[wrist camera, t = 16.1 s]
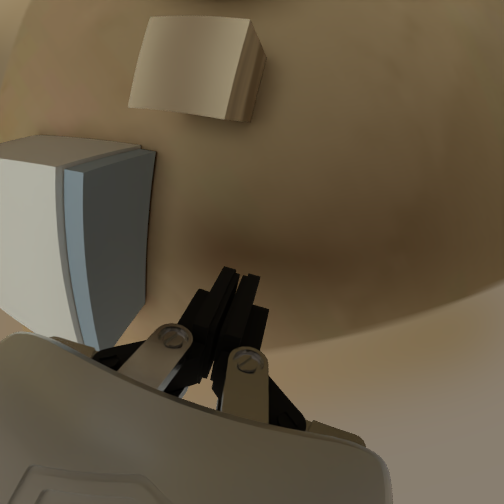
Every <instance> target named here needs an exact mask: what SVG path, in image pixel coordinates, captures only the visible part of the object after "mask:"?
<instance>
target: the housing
mask: <svg viewBox="0 0 504 504" xmlns="http://www.w3.org/2000/svg"><path fill="white" fill-rule="evenodd" d="M137 149H141V145H136V144H129V143H122V142H114V141H106V140H97V139H87V138H77V137H64V136H49V135H34V136H29V137H25V138H20V139H16V140H12V141H8V142H4V143H0V308H1V309H2V310H4V311H5V312H6V313H8V314H9V315H10V316H11V317H13V318H14V319H16V320H17V321H18V322H20V323H21V324H23V325H24V326H26V327H27V328H28V329H30V330H31V331H33V332H34V333H36V334H40V335H43V336H46V337H53V336H56V337H60V338H64V339H67V340H70V341H73V342H77V343H80V344H83V345H85V344H84V340H83V336H82V332H81V328H80V323H79V319H78V314H77V309H76V304H75V299H74V294H73V288H72V282H71V275H70V268H69V260H68V251H67V241H66V228H65V208H64V169H67V168H70V167H73V166H76V165H80V164H83V163H86V162H90V161H93V160H97V159H101V158H104V157H108V156H112V155H116V154H120V153H124V152H128V151H132V150H137Z"/></svg>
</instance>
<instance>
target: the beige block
mask: <svg viewBox="0 0 504 504" xmlns="http://www.w3.org/2000/svg"><path fill="white" fill-rule="evenodd" d="M266 58H267V57H266V55H265V52H264V50H263V48H262V45H261V43H260V40H259V38H258V36H257V34H256V31H255V29H254V27H253V25H252V22H251V20H249V19H241V18H230V17H217V16H157V17H150V20H149V23H148V26H147V29H146V33H145V36H144V39H143V43H142V47H141V50H140V54H139V58H138V62H137V66H136V70H135V75H134V79H133V84H132V89H131V94H130V99H129V104H128V107H129V108H142V109H153V110H163V111H172V112H180V113H187V114H194V115H200V116H207V117H213V118H218V119H224V120H233V121H243V122H251V117H252V113H253V109H254V105H255V101H256V97H257V93H258V89H259V85H260V81H261V77H262V73H263V70H264V66H265V62H266Z"/></svg>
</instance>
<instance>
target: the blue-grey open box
mask: <svg viewBox="0 0 504 504" xmlns="http://www.w3.org/2000/svg"><path fill="white" fill-rule="evenodd" d="M155 154H156V152H155V151H149V150H143V149H137V150H132V151H128V152H124V153H120V154H116V155H112V156H108V157H104V158H101V159H97V160H93V161H90V162H86V163H83V164H80V165H76V166H73V167H70V168H67V169H64V208H65V228H66V241H67V251H68V260H69V268H70V275H71V282H72V288H73V294H74V299H75V304H76V309H77V314H78V319H79V323H80V328H81V332H82V336H83V340H84V344H85V345H87V346H90V347H94V348H95V350H96V351H100V350H103V349H106V348H111V347H114V345H115V344H116V343H117V341H118V340H119V338H120V337H121V336H122V334H123V333H124V331H125V330H126V329H127V327H128V326H129V325H130V323H131V322H132V320H133V319H134V318H135V316H136V315H137V314H138V312H139V311H140V310H141V308H142V307H143V306H144V304H145V272H146V246H147V229H148V216H149V204H150V194H151V185H152V176H153V168H154V161H155Z"/></svg>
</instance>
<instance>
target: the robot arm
mask: <svg viewBox="0 0 504 504" xmlns="http://www.w3.org/2000/svg"><path fill="white" fill-rule="evenodd" d="M239 276H240V274H237V273H236V270H235V269H232V268H228V267H225V266H224V267H223V269H222V271H221V273H220V275H219V276H218V278H217V280H216V282H215V284H214V285H213V287H212V289H211V291H210V292H209V291H205V290H202V289H198V291H197V292H196V294H195V296H194V297H193V299H192V300H191V302H190V304H189V305H188V307H187V309H186V310H185V312H184V314H183V315H182V317H181V319H180V320H179V322H178V323H177V324H173V323H171V324H165V325H162V326H160V327H159V328H158V329H156V331H155V332H154V333H153V334H152V335H151V336H150V337H149V338H148V339H147V340H145V341H140V342H135V343H131V344H126V345H121V346H116V347H111V348H106V349H103V350H100V351H96V350H95V348H94V347H90V346H87V345H83V344H80V343H77V342H73V341H70V340H67V339H64V338H60V337H56V336H53V337H46V336H43V335H40V334H36V333H31V332H15V333H13V334H10V335H9V336H7V337H6V338H4V339H3V340H2V341H1V342H0V504H393V495H392V485H391V479H390V474H389V470H388V468H387V465H386V463H385V462H384V460H383V459H382V458H381V457H380V456H379V455H377V454H376V453H375V452H373V451H371V450H370V449H368V448H366V446H365V443H364V441H363V440H362V439H361V438H360V437H359V436H357V435H355V434H352V433H349V432H346V431H343V430H340V429H337V428H334V427H331V426H328V425H326V424H323V423H320V422H317V421H315V420H313V421H312V422H310V421H308V420H305V418H304V417H303V415H302V413H301V412H300V411H299V410H298V409H297V408H296V407H295V406H294V405H293V403H291V401H290V400H289V399H288V398H287V396H286V395H285V394H284V393H283V392H282V391H281V390H280V389H279V387H278V386H277V385H276V384H275V382H274V381H273V380H272V379H271V378H270V377H269V375H268V360H267V358H266V356H265V355H264V354H263V353H262V352H261V351H260V348H261V344H262V339H263V335H264V330H265V326H266V321H267V317H268V312H269V309H266V308H263V307H259V306H256V305H253V302H254V298H255V295H256V291H257V287H258V284H259V280H260V277H259V276H256V275H252V274H248V276H244V275H243V277H242V279H241V282H240V284H239V287H238V289H237V284H238V280H239ZM236 289H237V291H236ZM235 293H236V294H235ZM213 361H214V363H213ZM212 364H213V369H212V374H211V379H210V380H212V381H213V385H212V390H213V391H214V393H215V394H216V396H217V397H218V400H217V407H216V410H214V409H211V408H208V407H204V406H201V405H198V404H195V403H192V402H190V401H187V400H184V399H182V397H183V396H184V394H185V393H186V391H187V389H188V386H191V385H194V384H197V383H198V384H200V382H201V379H202V377H203V378H207V377H208V374H209V371H210V369H211V366H212Z"/></svg>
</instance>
